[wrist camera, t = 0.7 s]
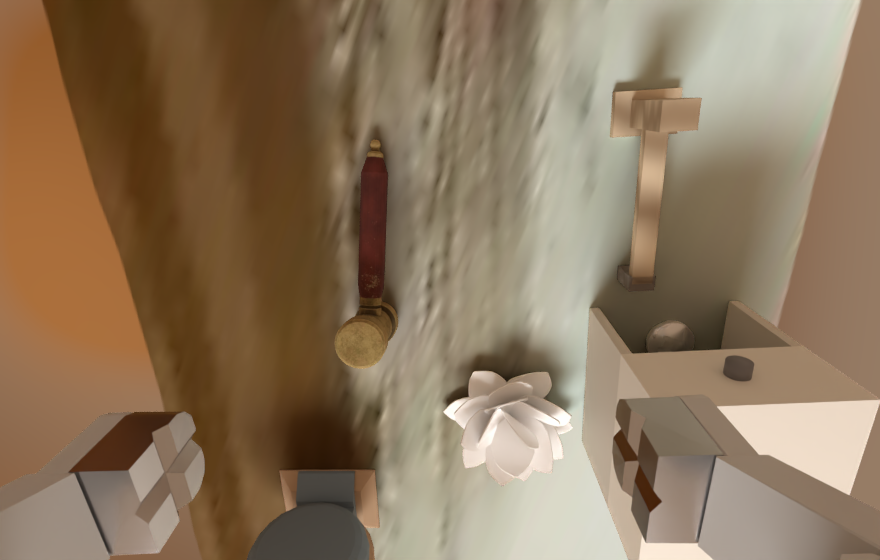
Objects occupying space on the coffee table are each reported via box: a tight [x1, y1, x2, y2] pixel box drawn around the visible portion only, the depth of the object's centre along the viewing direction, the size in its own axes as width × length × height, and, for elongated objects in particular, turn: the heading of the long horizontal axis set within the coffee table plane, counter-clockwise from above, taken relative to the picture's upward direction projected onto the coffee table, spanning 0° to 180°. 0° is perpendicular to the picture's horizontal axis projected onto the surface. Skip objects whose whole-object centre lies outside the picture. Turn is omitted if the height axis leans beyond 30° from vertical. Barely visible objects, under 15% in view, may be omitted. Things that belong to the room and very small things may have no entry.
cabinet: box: [582, 301, 880, 560], centre depth 46 cm, size 19×16×18 cm
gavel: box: [335, 139, 398, 369], centre depth 46 cm, size 21×5×10 cm, turn 177°
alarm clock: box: [247, 470, 379, 560], centre depth 54 cm, size 14×10×18 cm
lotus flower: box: [444, 371, 572, 486], centre depth 53 cm, size 14×15×9 cm
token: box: [645, 320, 695, 353], centre depth 53 cm, size 5×5×1 cm
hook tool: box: [610, 88, 702, 291], centre depth 44 cm, size 19×6×8 cm, turn 4°
